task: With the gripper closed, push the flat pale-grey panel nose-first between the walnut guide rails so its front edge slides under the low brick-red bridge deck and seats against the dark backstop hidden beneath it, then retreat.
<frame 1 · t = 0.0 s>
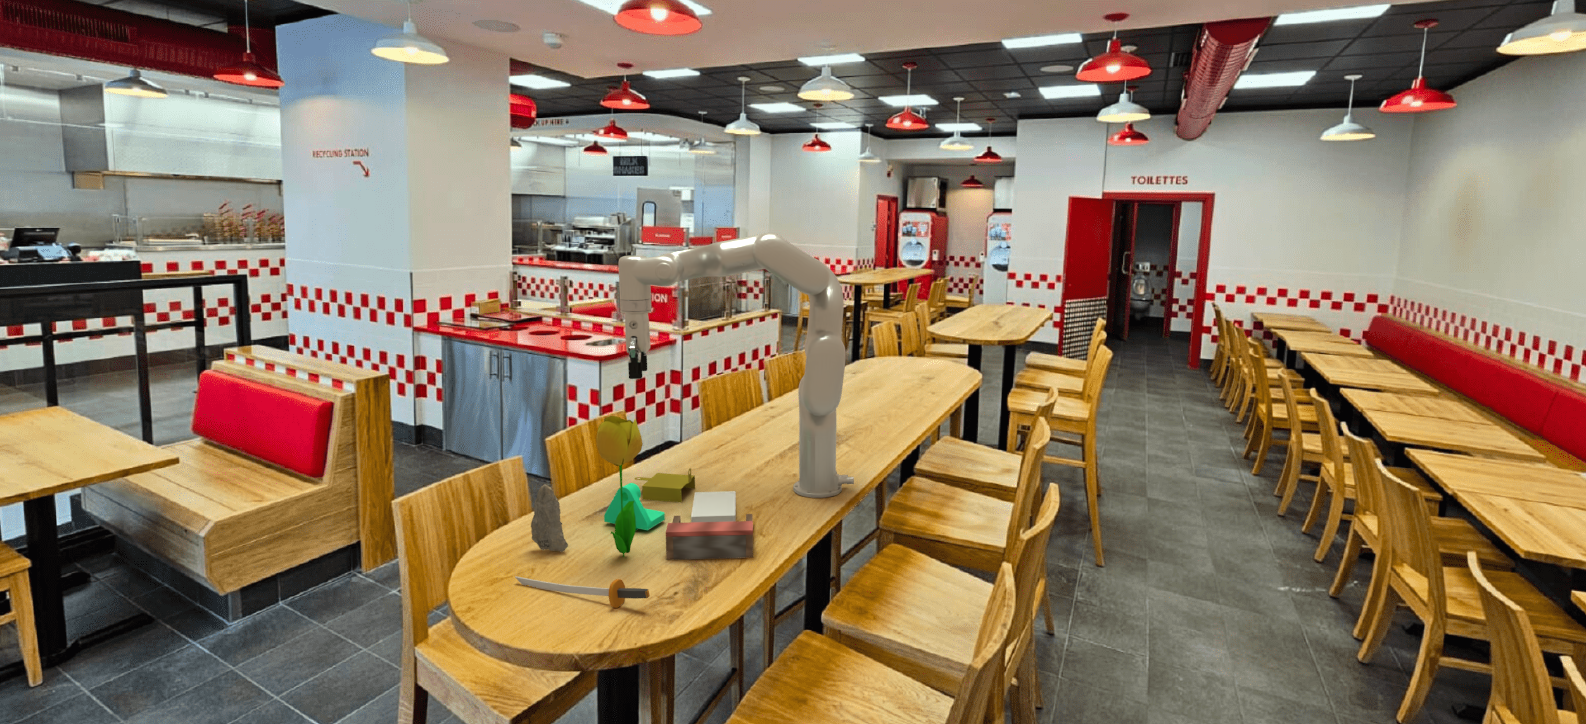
hand: (638, 374, 197), 31 cm above the table, tool pointing down, fingers open, 9 cm apart
katana: (580, 598, 148), on the table
panel: (714, 517, 188), on the table
stone tool: (551, 551, 168), on the table
flower: (624, 557, 165), on the table
camera mount: (635, 525, 183), on the table
bridge: (711, 540, 173), on the table
bracket: (662, 496, 203), on the table
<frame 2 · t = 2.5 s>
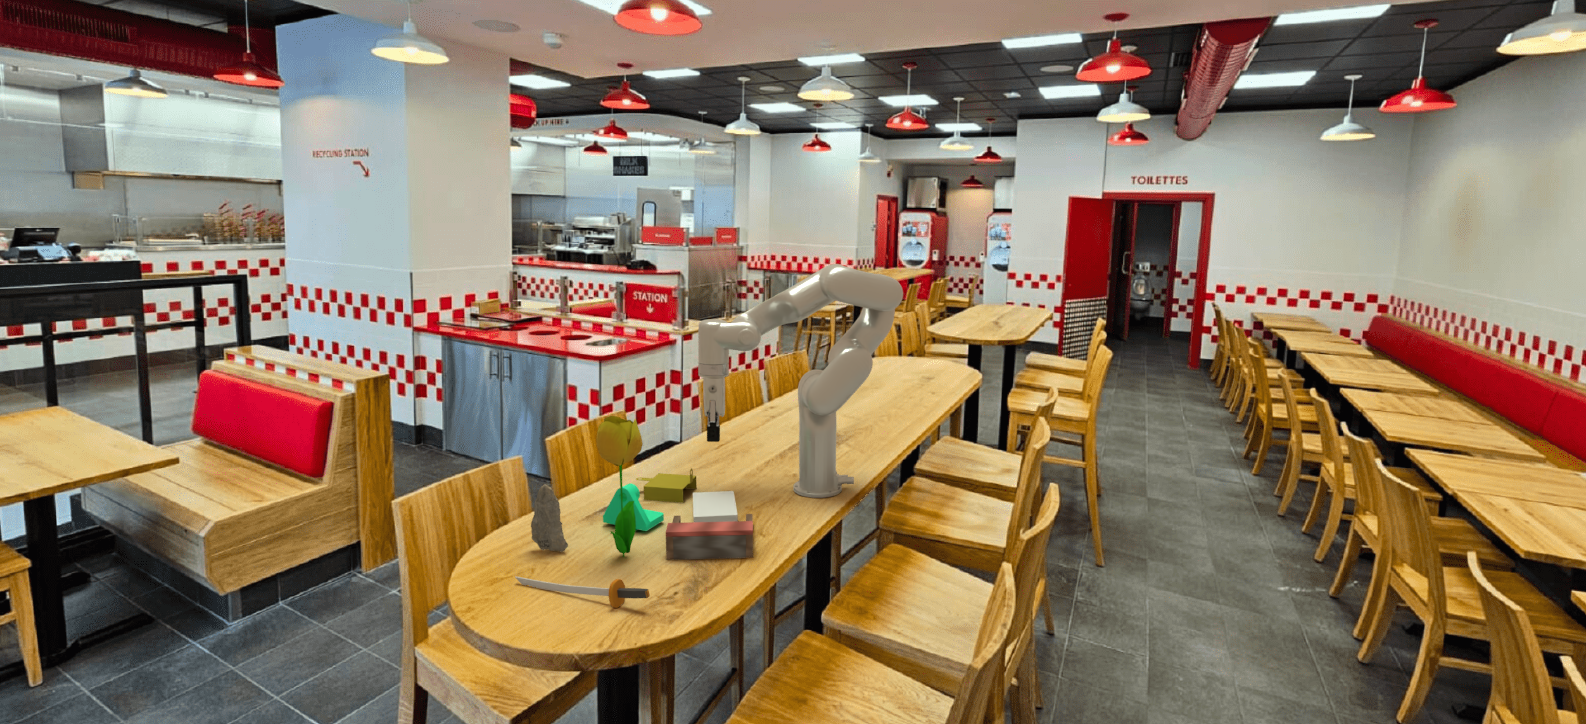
hand: (713, 440, 199), 14 cm above the table, tool pointing down, fingers closed
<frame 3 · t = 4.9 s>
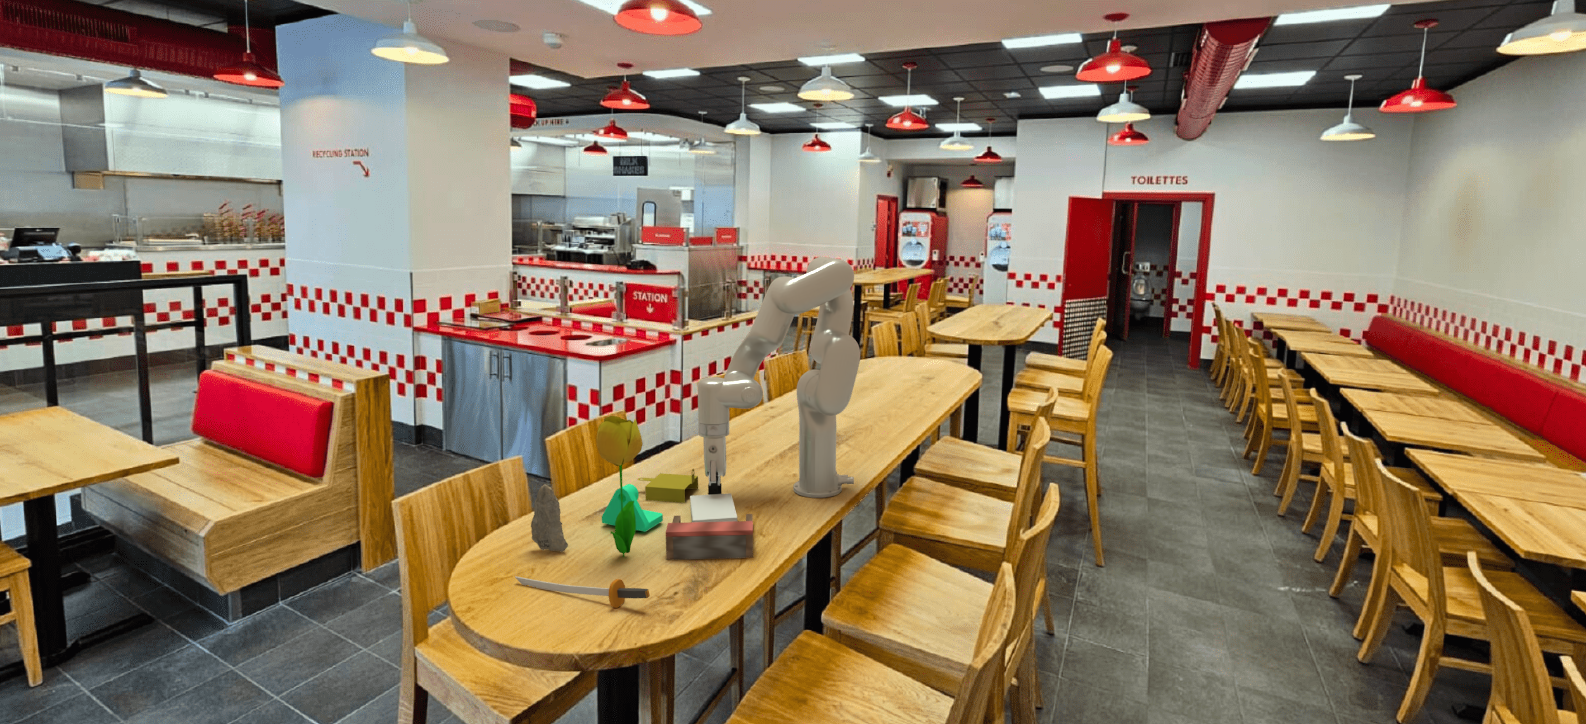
hand: (715, 499, 196), 1 cm above the table, tool pointing down, fingers closed
panel: (713, 520, 186), on the table, touching gripper
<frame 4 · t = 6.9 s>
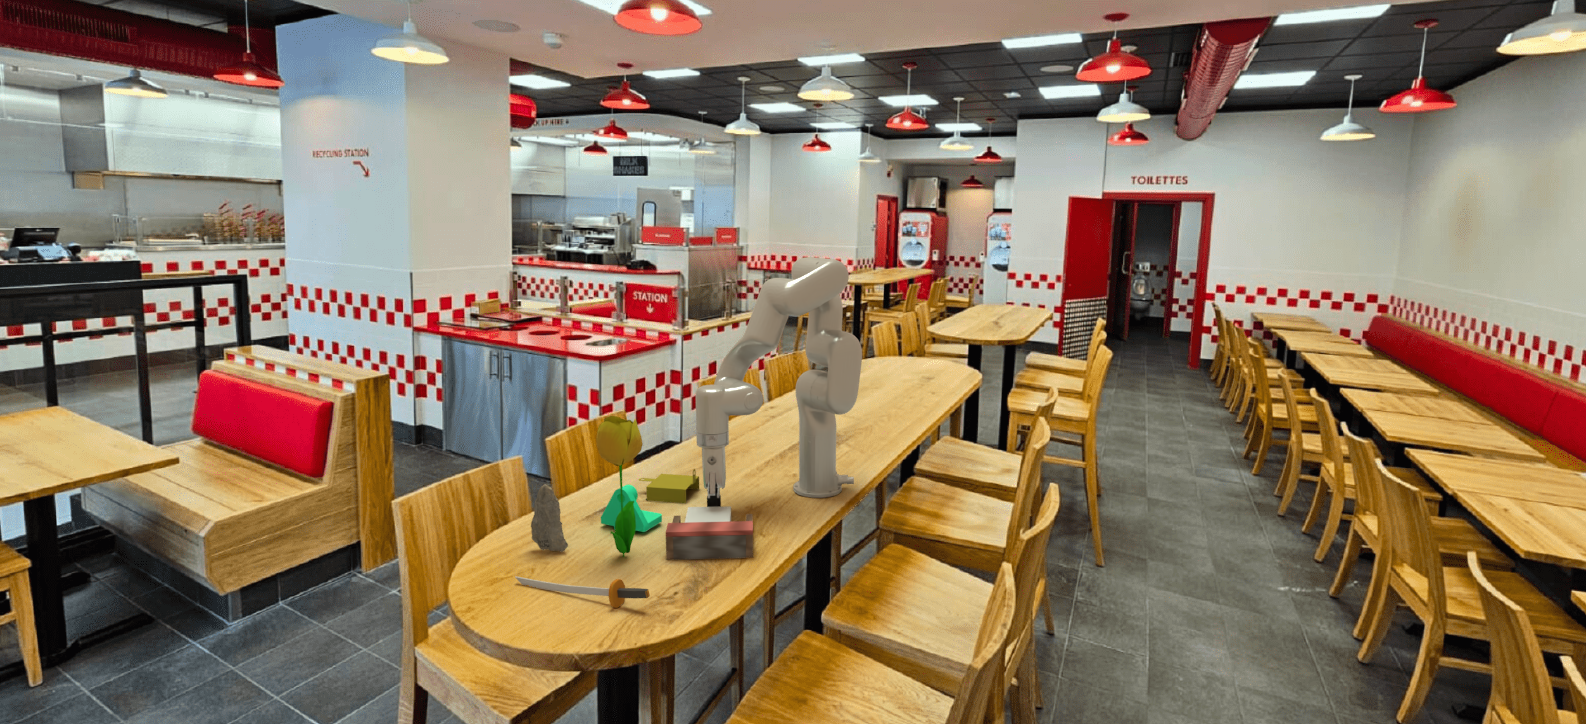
hand: (714, 512, 188), 1 cm above the table, tool pointing down, fingers closed
panel: (707, 534, 178), on the table
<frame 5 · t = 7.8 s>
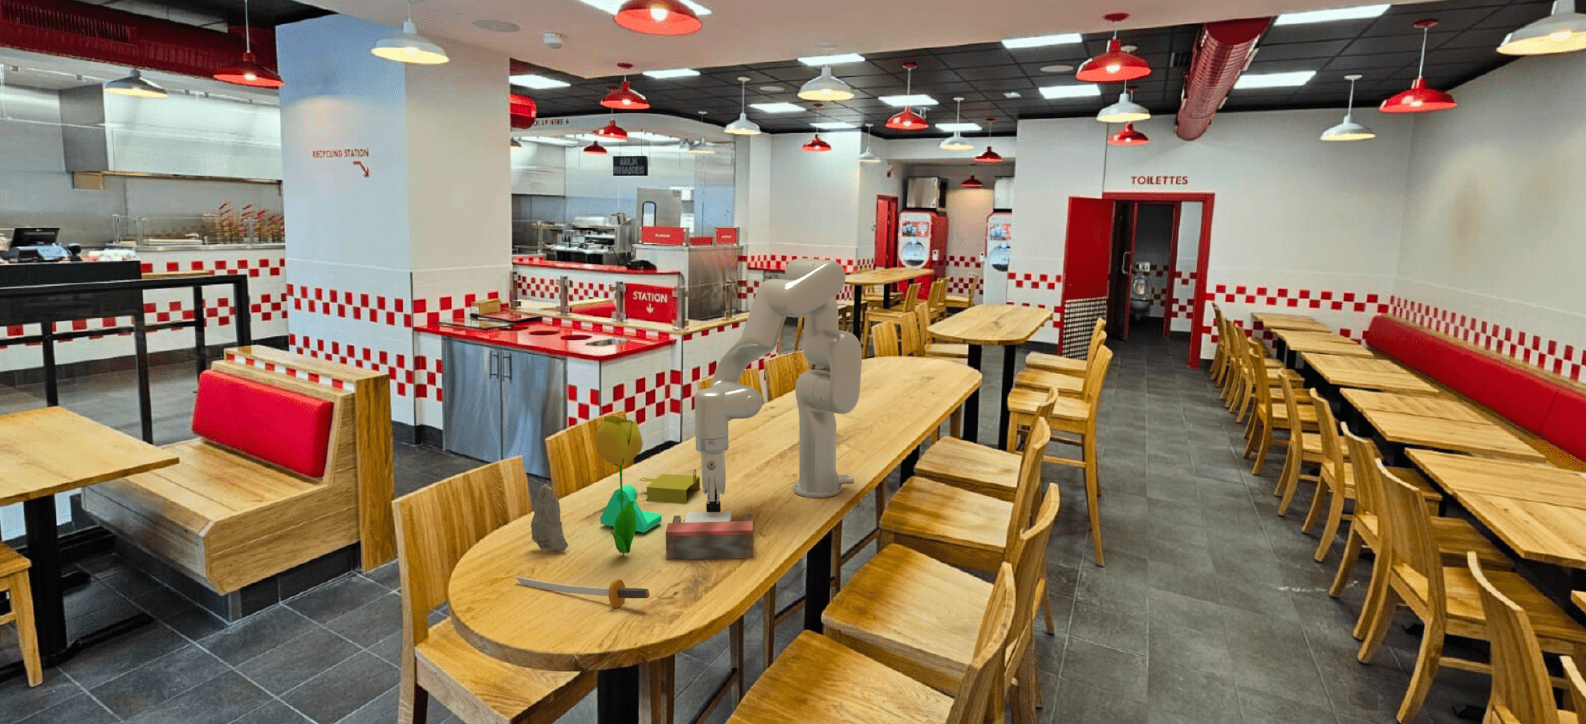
hand: (713, 518, 184), 1 cm above the table, tool pointing down, fingers closed
panel: (706, 540, 174), on the table
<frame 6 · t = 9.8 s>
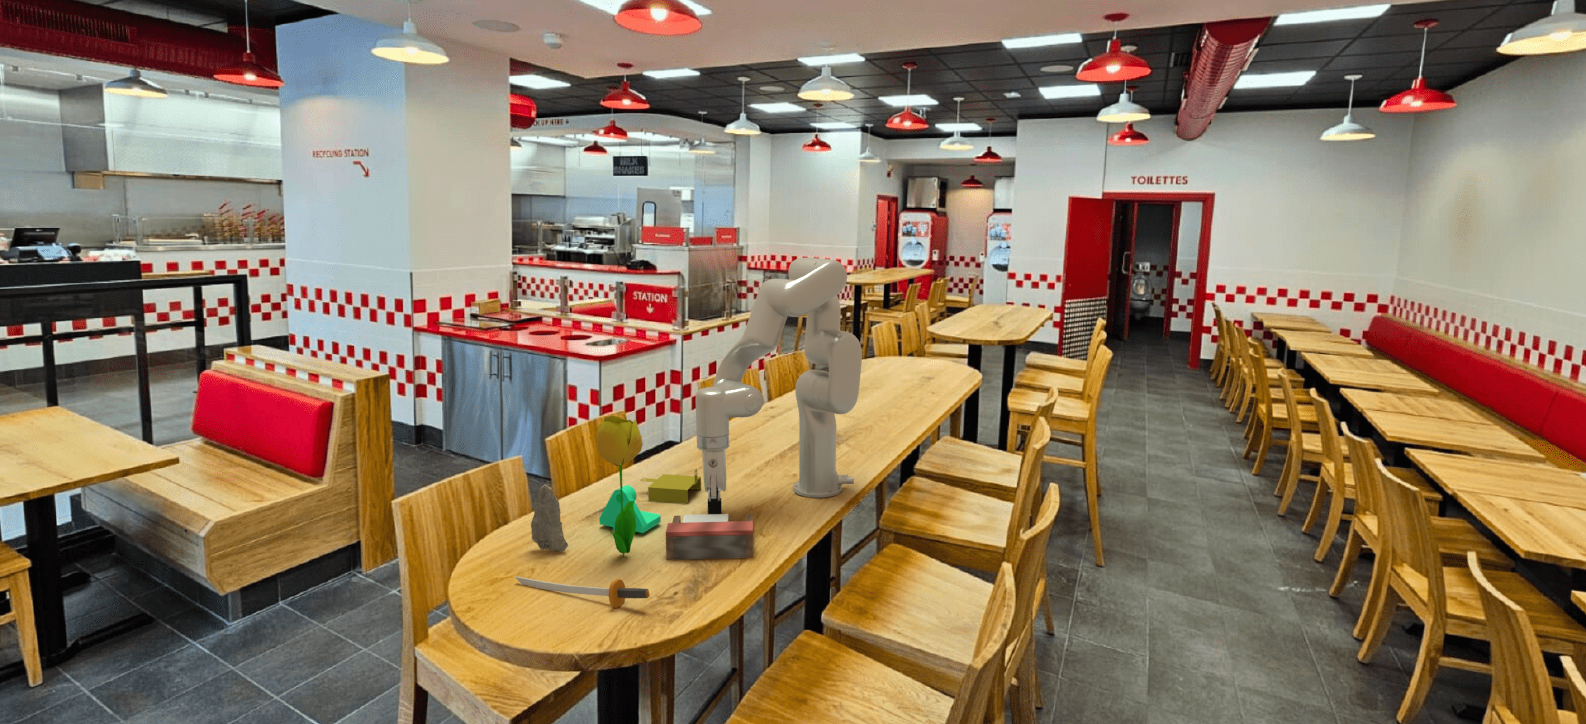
hand: (714, 515, 186), 1 cm above the table, tool pointing down, fingers closed
panel: (704, 542, 173), on the table
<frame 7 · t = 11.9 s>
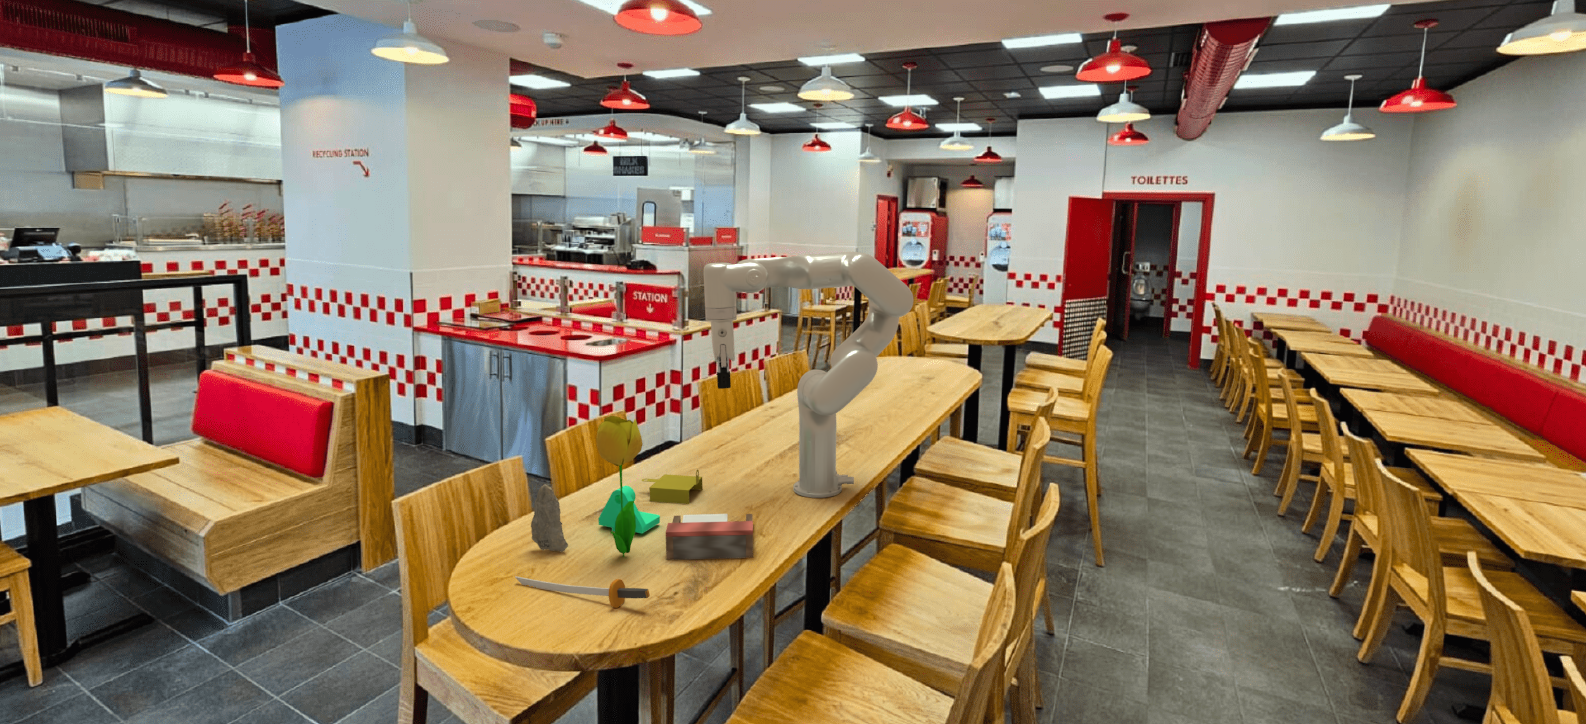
hand: (724, 387, 195), 28 cm above the table, tool pointing down, fingers closed
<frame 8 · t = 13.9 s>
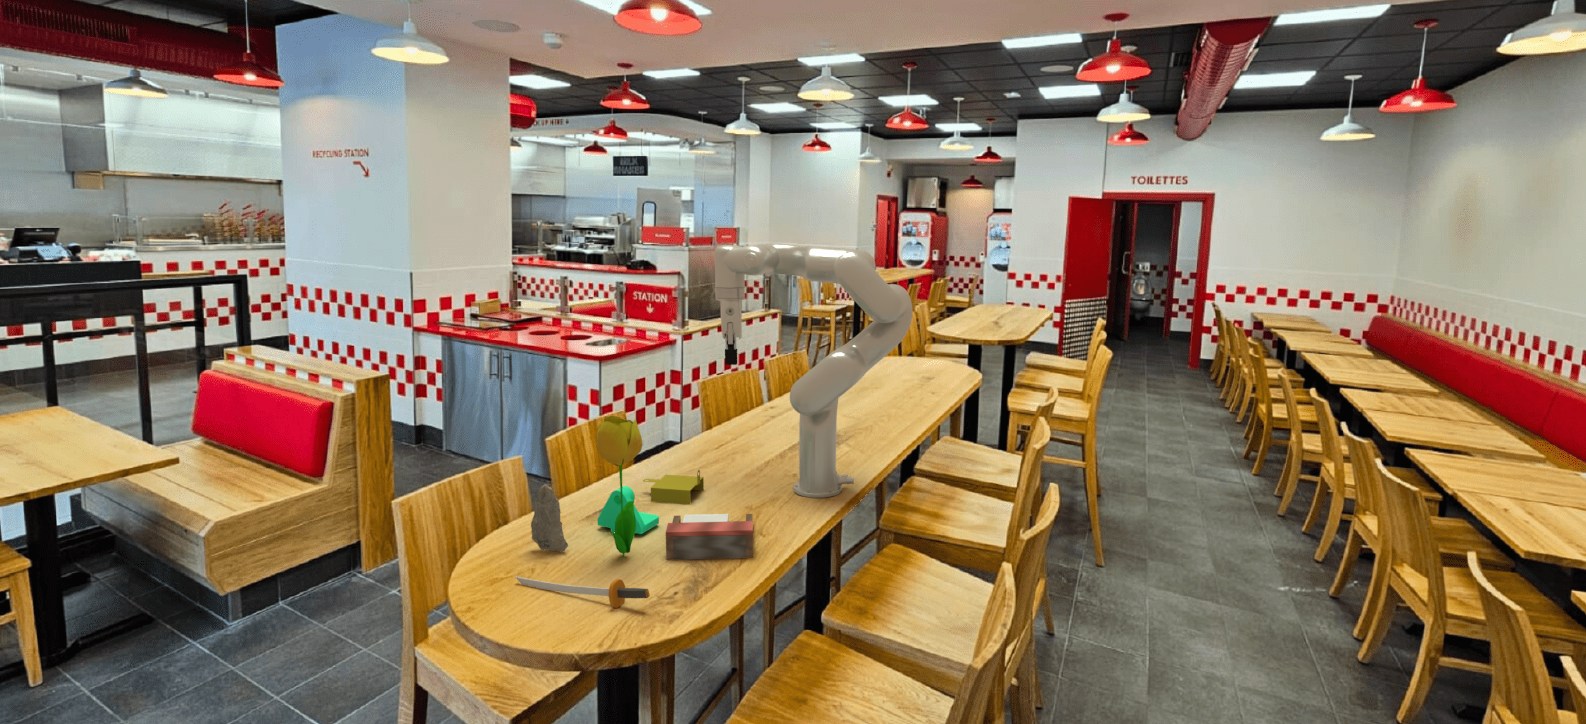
hand: (731, 364, 206), 32 cm above the table, tool pointing down, fingers closed
at the end: panel moved 15.0 cm from its start; panel inside the target area (1.6 cm from its centre), on the table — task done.
